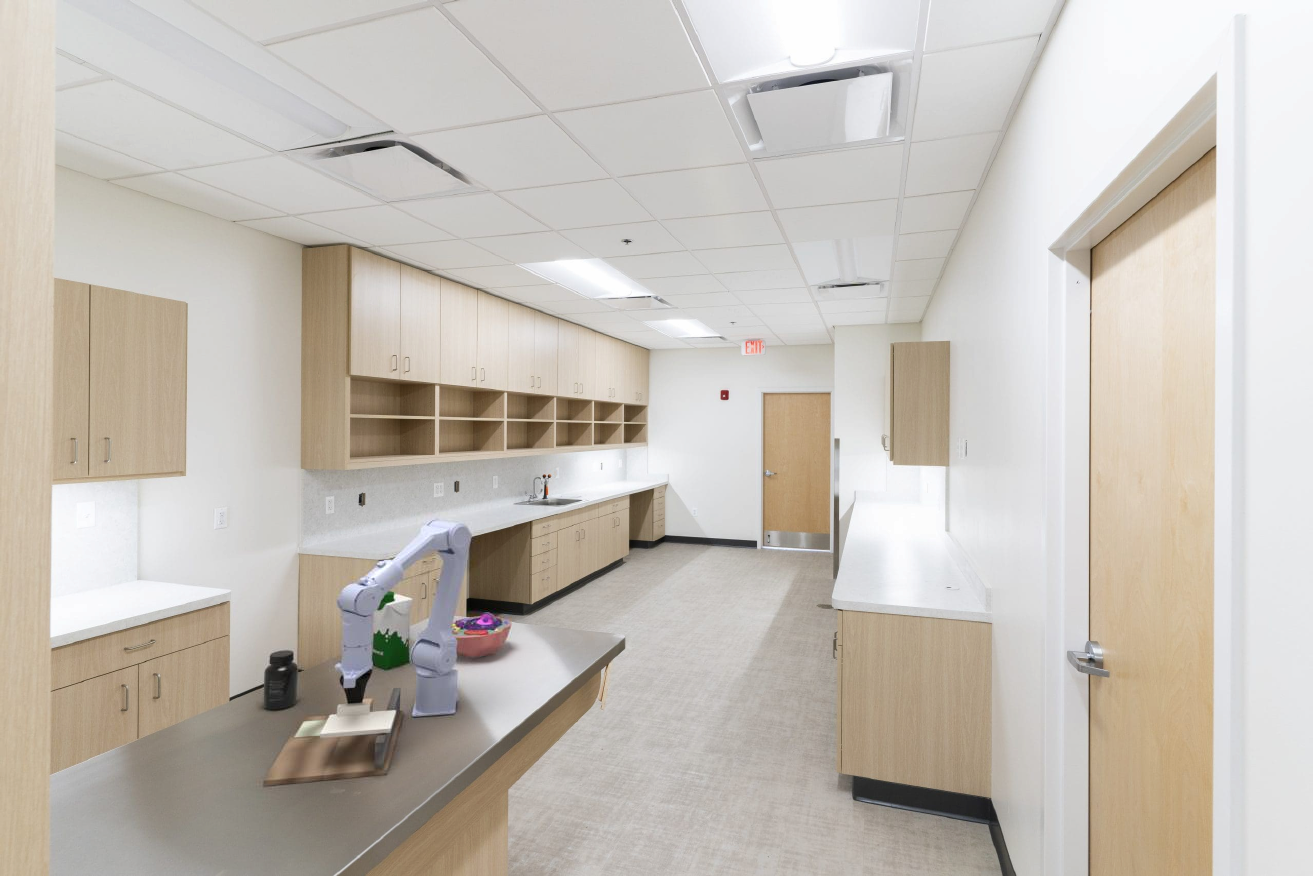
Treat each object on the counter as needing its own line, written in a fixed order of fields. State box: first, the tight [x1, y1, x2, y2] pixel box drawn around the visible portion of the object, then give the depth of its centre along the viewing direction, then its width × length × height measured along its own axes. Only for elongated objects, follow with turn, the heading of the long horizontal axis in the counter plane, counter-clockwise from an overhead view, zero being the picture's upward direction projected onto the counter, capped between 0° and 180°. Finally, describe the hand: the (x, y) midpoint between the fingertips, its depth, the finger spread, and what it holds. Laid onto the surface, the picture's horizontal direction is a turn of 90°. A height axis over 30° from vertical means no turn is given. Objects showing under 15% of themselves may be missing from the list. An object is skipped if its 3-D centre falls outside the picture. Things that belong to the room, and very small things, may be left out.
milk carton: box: [372, 590, 414, 671], centre depth 174 cm, size 9×9×20 cm
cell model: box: [451, 611, 513, 659], centre depth 184 cm, size 17×20×11 cm
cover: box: [320, 702, 396, 738], centre depth 126 cm, size 12×8×3 cm, turn 105°
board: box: [262, 687, 404, 787], centre depth 131 cm, size 21×25×6 cm
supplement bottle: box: [263, 649, 299, 711], centre depth 148 cm, size 7×7×12 cm
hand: (355, 708), depth 131 cm, fingers closed
